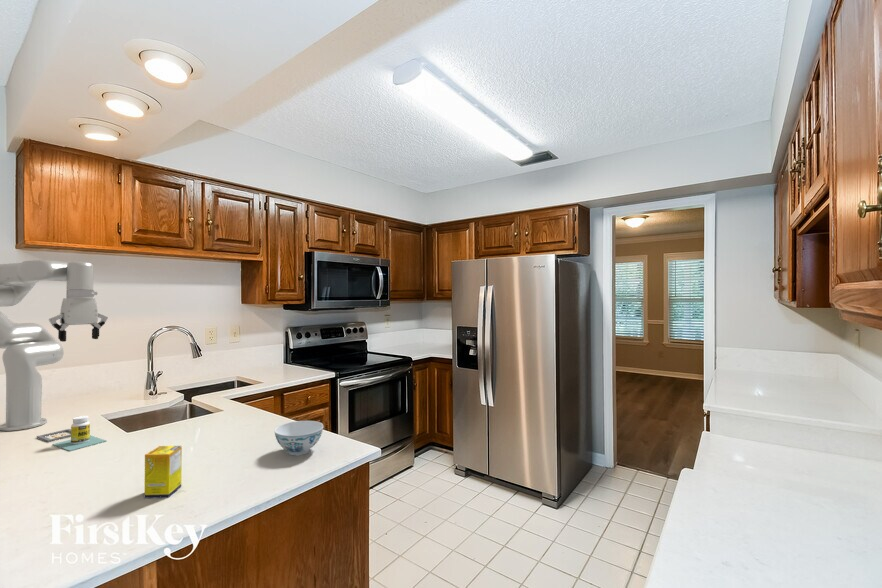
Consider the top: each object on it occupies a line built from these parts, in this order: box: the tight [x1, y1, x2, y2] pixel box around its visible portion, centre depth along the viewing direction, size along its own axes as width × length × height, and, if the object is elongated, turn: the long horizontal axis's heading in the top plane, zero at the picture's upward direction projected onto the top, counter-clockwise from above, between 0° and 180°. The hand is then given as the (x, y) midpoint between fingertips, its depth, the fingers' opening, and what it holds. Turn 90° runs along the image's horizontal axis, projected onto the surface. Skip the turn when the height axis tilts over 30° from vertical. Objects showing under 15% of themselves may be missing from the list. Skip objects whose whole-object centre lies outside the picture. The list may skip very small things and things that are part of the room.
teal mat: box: [52, 434, 107, 452], centre depth 137 cm, size 12×10×1 cm
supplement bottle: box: [70, 415, 91, 444], centre depth 137 cm, size 5×5×8 cm
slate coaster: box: [36, 428, 71, 443], centre depth 143 cm, size 9×9×1 cm
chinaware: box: [274, 420, 324, 456], centre depth 131 cm, size 15×15×8 cm
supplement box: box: [144, 445, 183, 499], centre depth 103 cm, size 6×6×11 cm
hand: (79, 340), depth 152 cm, fingers open, 9 cm apart
